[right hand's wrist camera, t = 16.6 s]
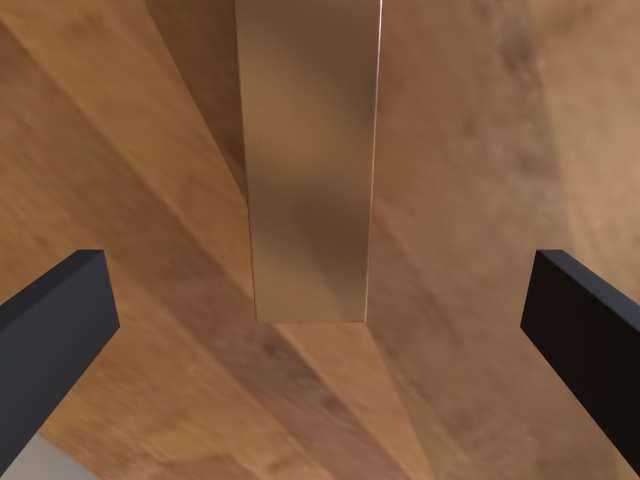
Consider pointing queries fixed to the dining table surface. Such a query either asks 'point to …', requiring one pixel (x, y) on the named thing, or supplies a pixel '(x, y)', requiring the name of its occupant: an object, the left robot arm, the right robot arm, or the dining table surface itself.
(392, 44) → the dining table surface
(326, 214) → the post
